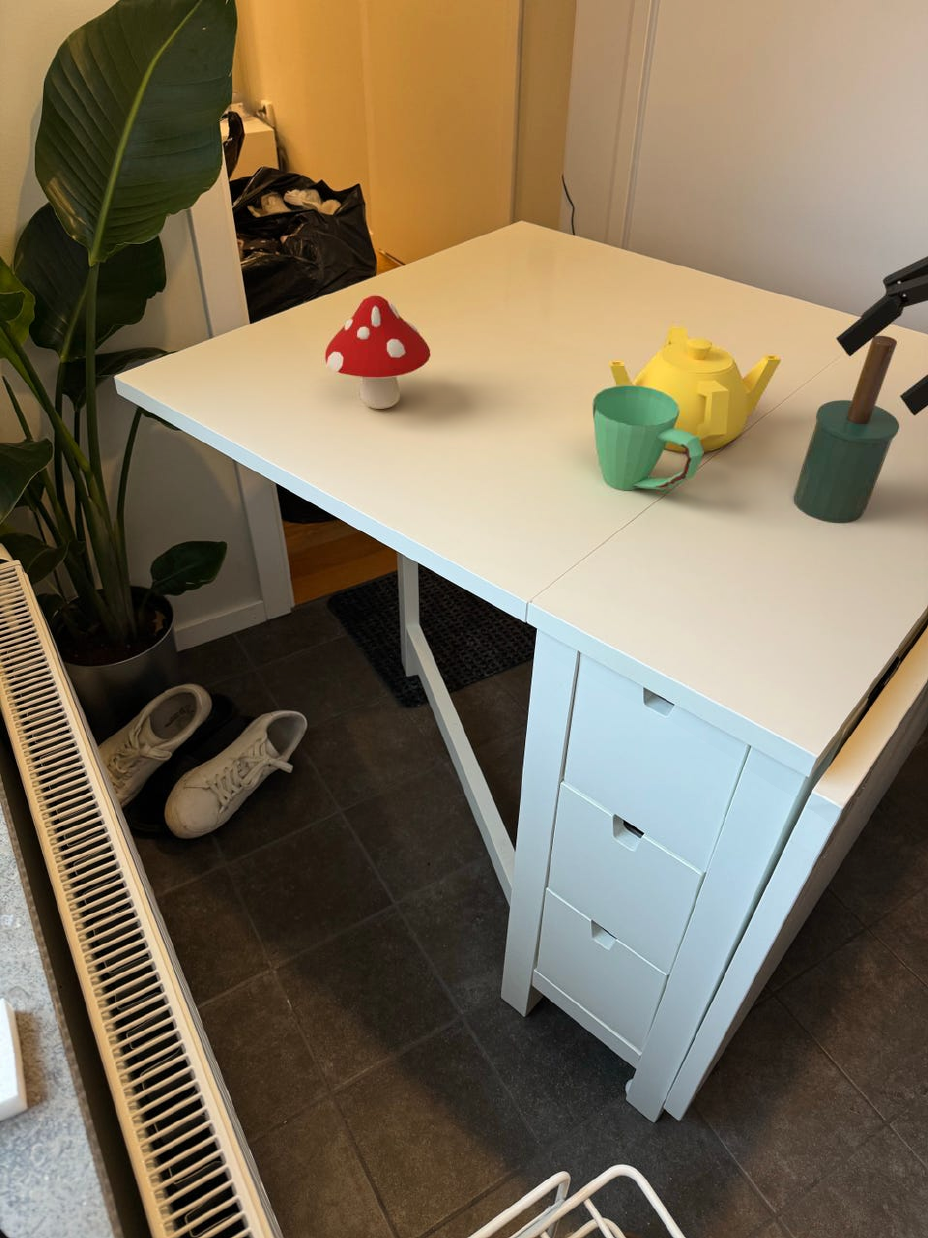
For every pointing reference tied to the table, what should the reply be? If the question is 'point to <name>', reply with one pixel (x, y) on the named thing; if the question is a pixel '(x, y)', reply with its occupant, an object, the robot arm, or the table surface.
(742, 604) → the table surface
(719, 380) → the teapot
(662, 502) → the table surface
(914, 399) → the robot arm
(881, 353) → the ring toss peg stand
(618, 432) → the mug
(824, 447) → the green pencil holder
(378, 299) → the decorative mushroom
